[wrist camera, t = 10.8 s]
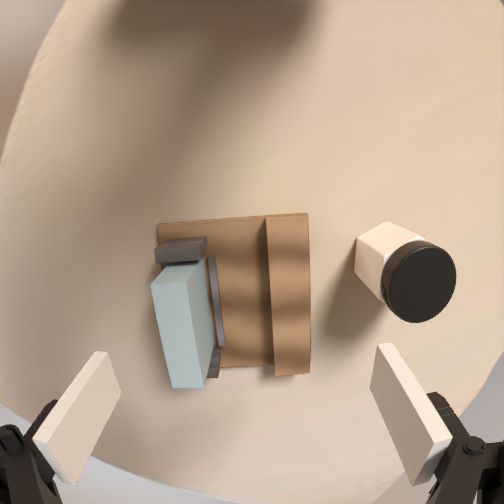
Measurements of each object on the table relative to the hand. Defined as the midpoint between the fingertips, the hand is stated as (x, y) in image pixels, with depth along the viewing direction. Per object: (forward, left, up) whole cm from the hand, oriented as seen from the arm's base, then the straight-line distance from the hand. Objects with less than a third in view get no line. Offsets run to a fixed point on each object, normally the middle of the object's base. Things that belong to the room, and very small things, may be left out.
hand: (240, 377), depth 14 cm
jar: (+2, +17, -26) cm, 31 cm away
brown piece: (+6, -2, -26) cm, 27 cm away
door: (+6, -7, -25) cm, 27 cm away
